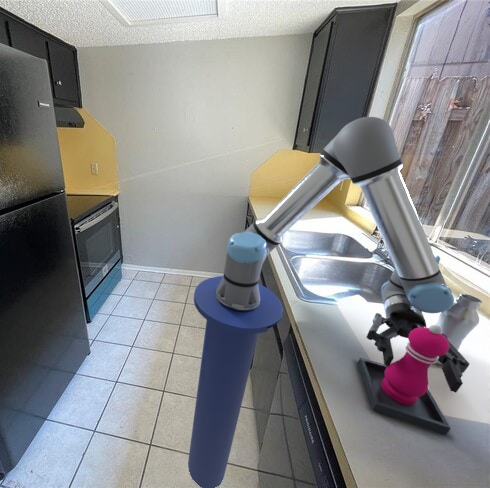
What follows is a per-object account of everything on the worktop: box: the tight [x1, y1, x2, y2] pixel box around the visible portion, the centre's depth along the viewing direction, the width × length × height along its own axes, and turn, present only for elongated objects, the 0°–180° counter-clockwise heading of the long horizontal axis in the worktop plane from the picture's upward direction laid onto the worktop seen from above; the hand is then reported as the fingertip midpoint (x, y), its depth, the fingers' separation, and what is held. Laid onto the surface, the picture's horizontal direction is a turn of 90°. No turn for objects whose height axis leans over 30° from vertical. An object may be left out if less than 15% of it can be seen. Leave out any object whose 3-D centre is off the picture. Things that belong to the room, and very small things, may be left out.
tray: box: [356, 357, 452, 435], centre depth 60 cm, size 14×13×2 cm
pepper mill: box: [381, 324, 449, 405], centre depth 56 cm, size 7×7×20 cm
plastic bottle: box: [435, 293, 483, 365], centre depth 67 cm, size 6×7×20 cm
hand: (421, 373), depth 52 cm, fingers open, 10 cm apart
